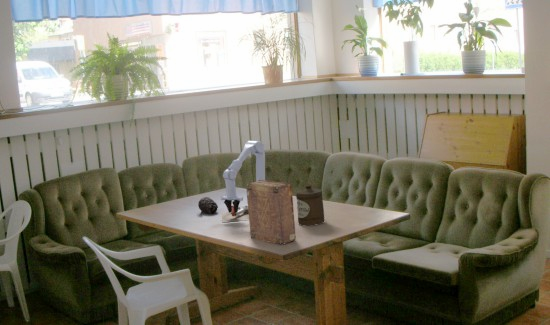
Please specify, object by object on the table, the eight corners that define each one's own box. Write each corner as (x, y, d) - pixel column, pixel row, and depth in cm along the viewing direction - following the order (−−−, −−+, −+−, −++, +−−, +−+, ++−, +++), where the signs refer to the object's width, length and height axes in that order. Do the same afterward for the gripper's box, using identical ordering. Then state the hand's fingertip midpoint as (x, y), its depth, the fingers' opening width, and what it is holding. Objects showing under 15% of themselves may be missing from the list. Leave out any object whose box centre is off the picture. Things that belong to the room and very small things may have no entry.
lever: (244, 209, 445) (244, 199, 444) (251, 209, 443) (250, 200, 442) (229, 216, 430) (229, 206, 429) (236, 216, 427) (235, 206, 427)
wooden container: (293, 222, 411) (290, 184, 408) (317, 218, 417) (314, 180, 413) (305, 227, 397) (302, 188, 394) (329, 222, 403) (326, 184, 400)
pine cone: (209, 217, 442) (207, 201, 441) (196, 213, 457) (194, 197, 456) (224, 214, 448) (222, 198, 446) (210, 210, 463) (209, 194, 461)
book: (250, 238, 384) (245, 182, 380) (263, 234, 390) (258, 179, 386) (282, 245, 365) (278, 186, 361) (296, 240, 371) (291, 183, 367)
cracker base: (254, 210, 449) (253, 204, 449) (256, 219, 426) (255, 212, 425) (221, 213, 448) (221, 207, 447) (222, 222, 424) (221, 215, 424)
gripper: (217, 190, 428) (219, 213, 430) (237, 191, 420) (239, 214, 422) (223, 188, 434) (226, 210, 436) (244, 189, 426) (246, 211, 428)
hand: (233, 212), depth 430 cm, fingers open, 4 cm apart
